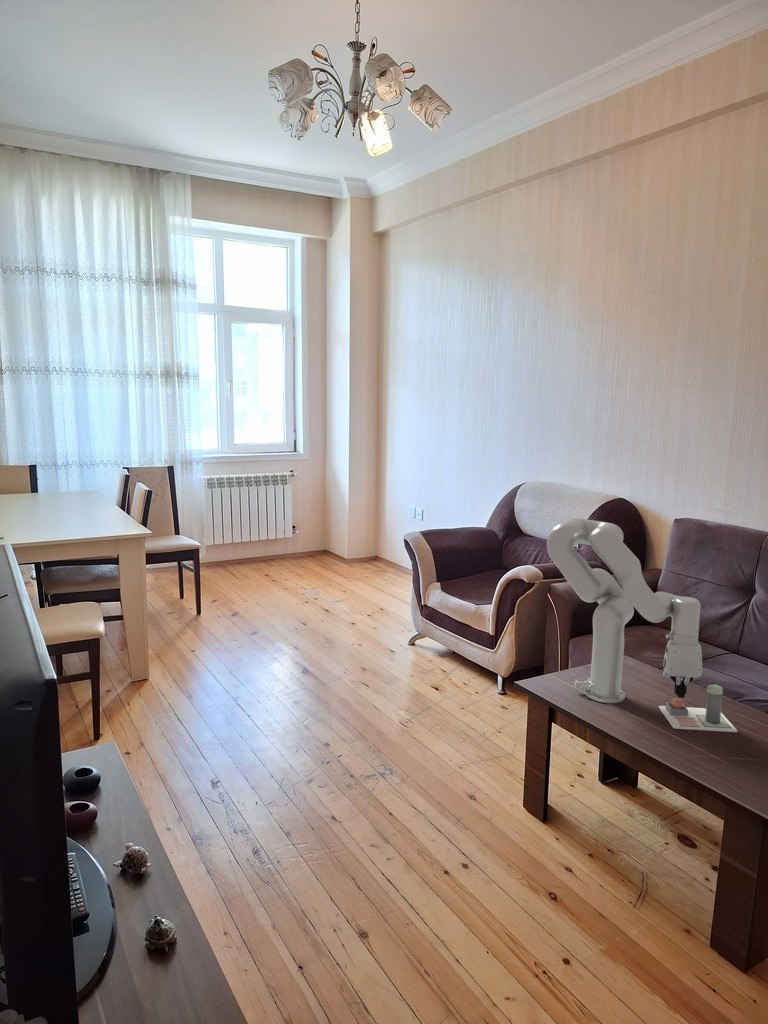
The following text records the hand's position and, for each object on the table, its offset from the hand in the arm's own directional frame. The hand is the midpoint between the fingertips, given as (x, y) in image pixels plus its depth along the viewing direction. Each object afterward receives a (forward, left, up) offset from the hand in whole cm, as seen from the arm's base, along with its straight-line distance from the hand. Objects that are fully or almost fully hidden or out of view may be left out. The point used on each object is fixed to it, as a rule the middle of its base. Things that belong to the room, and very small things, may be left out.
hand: (679, 695), depth 208 cm
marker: (+8, -5, -5) cm, 11 cm away
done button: (0, 0, -4) cm, 4 cm away
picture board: (+5, -3, -6) cm, 8 cm away
